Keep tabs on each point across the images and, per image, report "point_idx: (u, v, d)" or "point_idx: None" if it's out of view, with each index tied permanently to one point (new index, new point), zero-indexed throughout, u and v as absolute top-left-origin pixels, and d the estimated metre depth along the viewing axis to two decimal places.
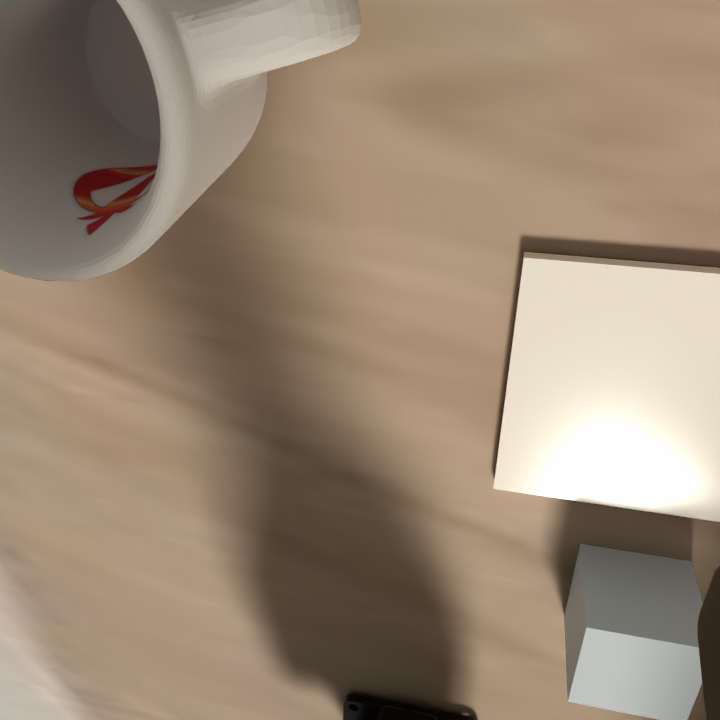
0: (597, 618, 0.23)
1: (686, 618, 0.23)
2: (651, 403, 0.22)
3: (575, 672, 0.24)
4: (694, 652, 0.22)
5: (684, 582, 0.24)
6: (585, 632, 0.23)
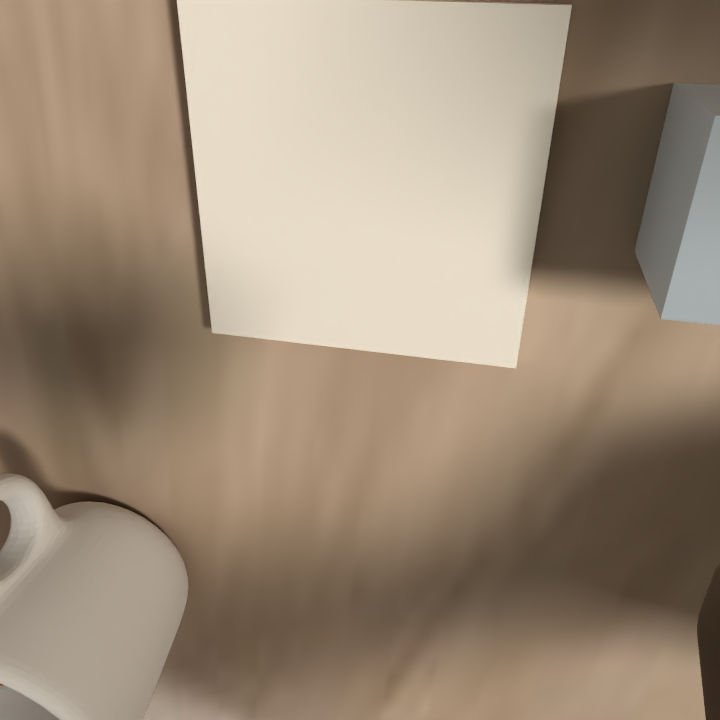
0: (661, 293, 0.14)
1: (691, 140, 0.13)
2: (363, 194, 0.17)
3: None
4: None
5: (677, 114, 0.15)
6: (673, 319, 0.14)
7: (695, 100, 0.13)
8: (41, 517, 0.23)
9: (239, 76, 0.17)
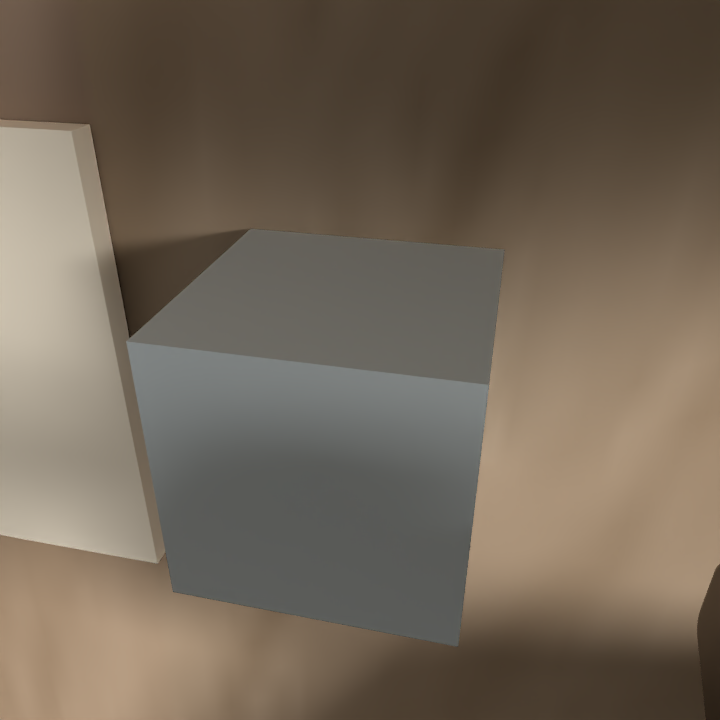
0: None
1: None
2: None
3: (337, 621, 0.09)
4: (153, 387, 0.08)
5: None
6: (190, 593, 0.10)
7: (190, 284, 0.09)
8: None
9: None
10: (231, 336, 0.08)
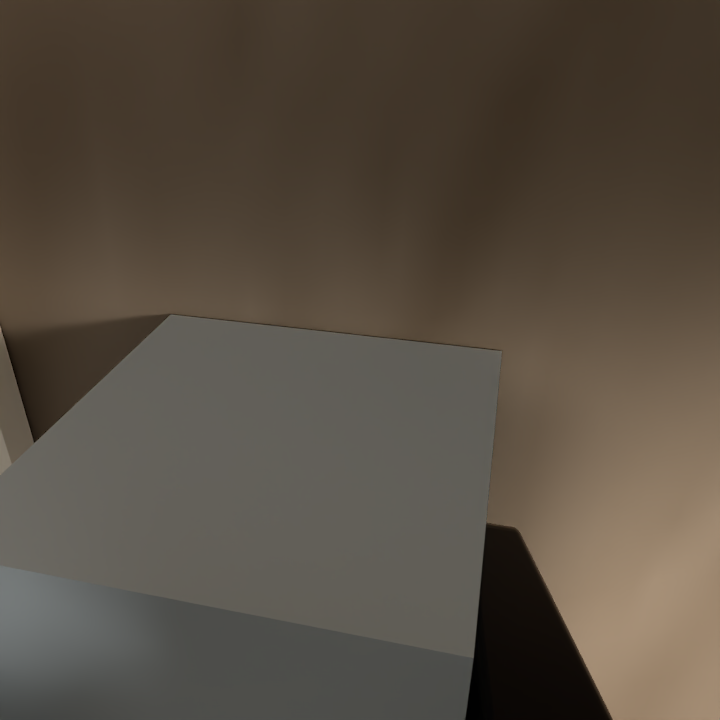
0: None
1: None
2: None
3: None
4: None
5: None
6: None
7: (56, 424, 0.06)
8: None
9: None
10: (84, 536, 0.05)
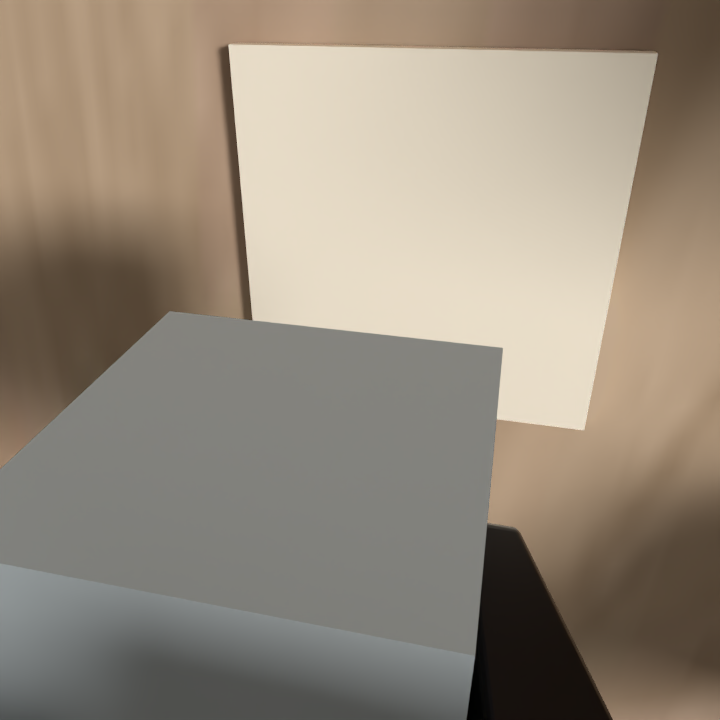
0: None
1: None
2: (423, 249, 0.16)
3: None
4: None
5: None
6: None
7: (53, 421, 0.06)
8: None
9: (293, 128, 0.16)
10: (81, 534, 0.05)
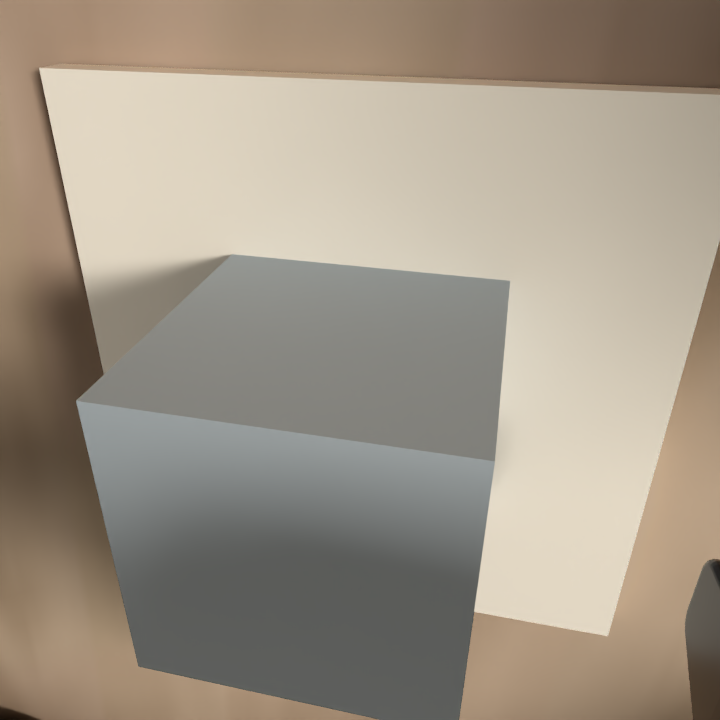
0: None
1: None
2: None
3: (321, 704, 0.08)
4: (108, 451, 0.07)
5: None
6: (157, 669, 0.09)
7: (156, 326, 0.08)
8: None
9: (154, 201, 0.10)
10: (196, 394, 0.07)
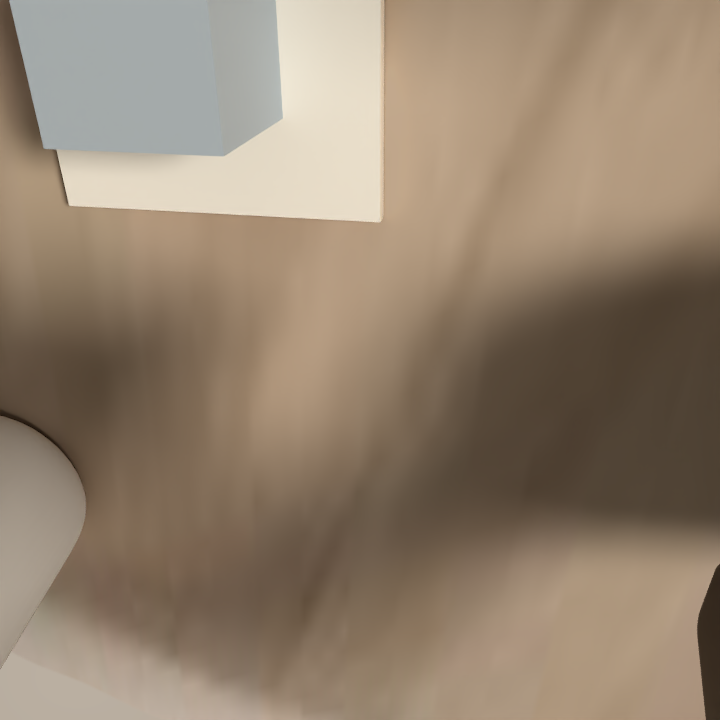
0: None
1: None
2: None
3: (149, 152, 0.14)
4: None
5: None
6: None
7: None
8: None
9: None
10: None
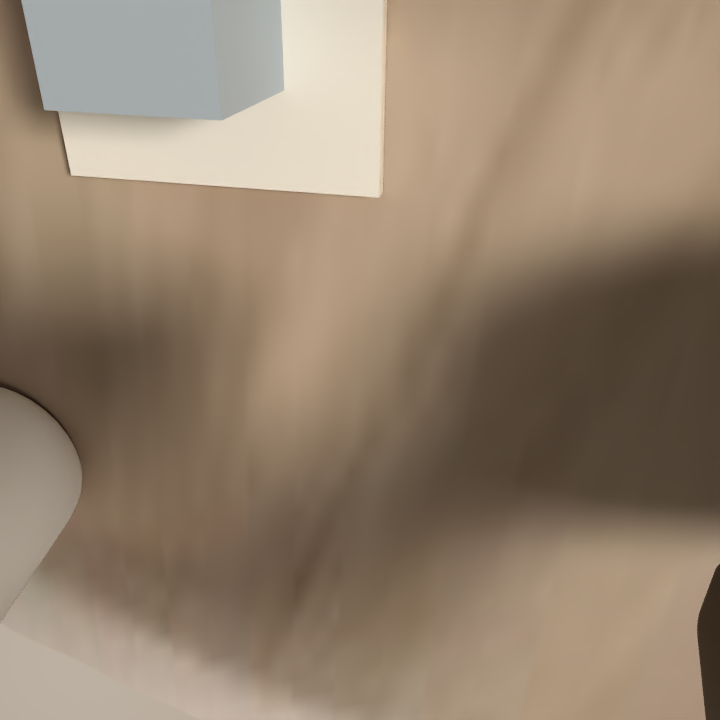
0: None
1: None
2: None
3: (147, 115, 0.14)
4: None
5: None
6: (55, 110, 0.14)
7: None
8: None
9: None
10: None
